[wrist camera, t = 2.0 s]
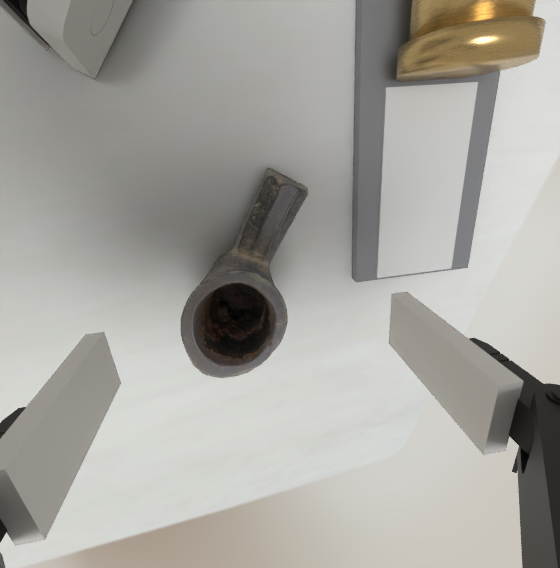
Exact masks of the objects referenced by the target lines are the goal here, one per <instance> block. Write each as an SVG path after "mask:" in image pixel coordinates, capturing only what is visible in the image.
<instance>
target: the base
mask: <svg viewBox="0 0 560 568" xmlns="http://www.w3.org/2000/svg"><path fill="white" fill-rule="evenodd" d="M411 7H412V0H356V47H355V114H354V180H353V246H352V278H353V279H354V280H355V281H356V282H361V281H369V280H377V279H384V278H392V277H400V276H407V275H415V274H423V273H430V272H438V271H446V270H454V269H461V268H468V263H469V257H470V251H471V245H472V239H473V233H474V227H475V221H476V215H477V209H478V203H479V197H480V191H481V185H482V178H483V172H484V166H485V160H486V154H487V148H488V142H489V136H490V130H491V124H492V118H493V112H494V106H495V100H496V94H497V88H498V82H499V76H500V71H497V72H492V73H487V74H482V75H477V76H471V77H465V78H457V79H440V80H423V81H407V82H403V81H399V80H397V79H396V78H397V61H398V50H399V48H400V47H401V46H402V45H404V44H405V43H407V42H409V36H410V22H411Z"/></svg>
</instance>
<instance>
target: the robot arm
mask: <svg viewBox="0 0 560 568" xmlns="http://www.w3.org/2000/svg"><path fill="white" fill-rule="evenodd" d="M389 344H390V345H391V346H392V348H393V349H394V350H395V351H396V352H397V354H398V355H399V356H400V357H401V358H402V359H403V361H404V362H405V363H406V364H407V365H408V366H409V368H410V369H411V370H412V371H413V372H414V374H415V375H416V376H417V377H418V378H419V379H420V381H421V382H422V383H423V384H424V385H425V387H426V388H427V389H428V390H429V391H430V392H431V394H432V395H433V396H434V397H435V398H436V399H437V401H438V402H439V403H440V404H441V405H442V407H443V408H444V409H445V410H446V411H447V412H448V414H449V415H450V416H451V417H452V418H453V419H454V421H455V422H456V423H457V424H458V425H459V427H460V428H461V429H462V430H463V431H464V432H465V434H466V435H467V436H468V437H469V438H470V439H471V441H472V442H473V443H474V444H475V445H476V447H477V448H478V449H479V450H480V451H481V453H482V454H483V455H485V454H491V453H496V452H501V451H505V450H506V447H507V443H508V439H509V436H510V437H511V438H512V439H513V440H514V441H515V442H516V443H517V444H518V445H519V449H518V452H517V456H516V459H515V463H514V466H513V470H512V472H515V473H517V470H518V486H519V504H520V526H521V544H522V564H523V568H560V385H556V384H543V383H541V382H540V381H539V380H537V379H536V378H535V377H533V376H532V375H530V374H529V373H528V372H526V371H525V370H523V369H522V368H521V367H519V366H518V365H516V364H515V363H514V362H513V361H509V359H508V358H507V357H505V356H504V355H503V354H500V352H499V351H497V350H496V349H494V348H493V347H492V346H490V345H489V344H487V343H485V342H482V341H480V340H478V339H476V338H470V339H468V338H467V337H465V336H464V335H463V334H462V333H460V332H459V331H458V330H456V329H455V328H454V327H452V326H451V325H450V324H448V323H447V322H446V321H445V320H443V319H442V318H441V317H439V316H438V315H437V314H435V313H434V312H433V311H431V310H430V309H429V308H428V307H426V306H425V305H424V304H422V303H421V302H420V301H418V300H417V299H416V298H414V297H413V296H412V295H411V294H409V293H408V292H402V293H394V294H392V298H391V314H390V331H389ZM120 384H121V382H120V379H119V376H118V373H117V370H116V367H115V364H114V361H113V358H112V355H111V352H110V348H109V345H108V342H107V339H106V336H105V333H104V332H101V333H93V334H86V335H85V336H84V337H83V338H82V340H81V341H80V342H79V343H78V344H77V346H76V347H75V348H74V349H73V351H72V352H71V353H70V354H69V355H68V357H67V358H66V359H65V360H64V362H63V363H62V364H61V365H60V366H59V368H58V369H57V370H56V371H55V373H54V374H53V375H52V376H51V378H50V379H49V380H48V381H47V382H46V384H45V385H44V386H43V387H42V389H41V390H40V391H39V392H38V393H37V395H36V396H35V397H34V398H33V400H32V401H31V402H30V403H29V404H28V406H27V407H23V408H18V409H17V410H16V411H14V412H13V413H12V414H10V415H9V416H8V417H7V418H5V419H4V420H3V421H2V422H1V423H0V542H1V540H2V539H3V537H4V535H5V534H6V532H7V533H8V535H9V537H10V538H11V540H12V541H13V543H14V544H15V545H20V544H25V543H31V542H36V541H41V540H45V539H46V537H47V534H48V532H49V530H50V528H51V526H52V524H53V522H54V520H55V518H56V516H57V514H58V512H59V510H60V508H61V506H62V504H63V501H64V499H65V497H66V495H67V493H68V491H69V489H70V487H71V485H72V483H73V481H74V479H75V477H76V475H77V473H78V471H79V469H80V466H81V464H82V462H83V460H84V458H85V456H86V454H87V452H88V450H89V448H90V446H91V444H92V442H93V440H94V438H95V436H96V433H97V431H98V429H99V427H100V425H101V423H102V421H103V419H104V417H105V415H106V413H107V411H108V409H109V407H110V405H111V403H112V401H113V398H114V396H115V394H116V392H117V390H118V388H119V386H120ZM0 568H5V565H4V561H3V557H2V555H1V553H0Z"/></svg>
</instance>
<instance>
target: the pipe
mask: <svg viewBox="0 0 560 568" xmlns="http://www.w3.org/2000/svg"><path fill="white" fill-rule="evenodd" d="M307 195H308V188H307V187H305V186H304V185H302V184H300V183H298V182H296V181H294V180H292V179H290V178H288V177H286V176H284V175H282V174H280V173H279V172H277V171H275V170H273V169H271V168H268V170H267V172H266V174H265V176H264V178H263V180H262V182H261V184H260V186H259V188H258V191H257V193H256V195H255V198H254V200H253V202H252V205H251V207H250V210H249V212H248V214H247V216H246V218H245V221H244V223H243V225H242V228H241V230H240V233H239V236H238V238H237V241H236V243H235V245H234V247H233V249H232V250H231V251H229V252H227V253H225V254H223V255H222V256H221V257H220V258H219V259H218V260H217V261H216V262H215V263H214V265H213V267H212V268H211V270H210V272H209V273H208V275H207V276H206V277H205V279H204V280H203V281H202V282H201V284H200V285H199V286H198V287H197V288H196V289H195V290H194V291H193V292H192V294H191V295H190V297H189V298H188V300H187V302H186V305H185V307H184V310H183V313H182V316H181V337H182V341H183V344H184V347H185V349H186V352H187V354H188V356H189V358H190V360H191V362H192V364H193V365H194V366H195V367H196V368H197V369H199V370H200V371H201V372H202V373H203V374H205V375H209V376H212V377H218V378H225V377H233V376H238V375H241V374H244V373H248V372H249V371H251V370H253V369H254V368H255V367H257V366H259V365H261V364H262V363H263V362H264V361H265V360H266V359H267V358H268V357H269V356H270V355H271V353H272V352H273V351H274V350H275V349H276V348H277V347H278V345H279V344H280V342H281V340H282V338H283V336H284V333H285V330H286V326H287V309H286V305H285V302H284V300H283V297H282V295H281V294H280V292H279V291H278V290H277V288H276V287H275V286H274V284H273V280H272V277H271V274H270V271H269V264H270V262H271V260H272V258H273V256H274V254H275V252H276V250H277V248H278V246H279V245H280V243H281V241H282V239H283V237H284V236H285V234H286V232H287V230H288V228H289V226H290V225H291V223H292V221H293V220H294V218H295V216H296V214H297V212H298V210H299V208H300V207H301V205H302V203H303V202H304V200H305V198H306V196H307Z"/></svg>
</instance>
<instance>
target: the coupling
mask: <svg viewBox="0 0 560 568" xmlns="http://www.w3.org/2000/svg"><path fill="white" fill-rule="evenodd" d="M535 1H536V0H412V7H411V22H410V36H409V42H407V43H405V44H404V45H402V46H401V47H400V48H399V50H398V61H397V78H396V79H397V80H399V81H403V82H407V81H423V80H440V79H457V78H465V77H471V76H477V75H482V74H487V73H492V72H497V71H501V70H505V69H509V68H513V67H516V66H520V65H523V64H526V63H528V62H531V61H533V60H535V59H537V58H538V57H539V53H540V48H541V43H542V38H543V33H544V28H545V23H546V22H545V20H544V19H542V18H539V17H534V16H533V12H534V6H535Z"/></svg>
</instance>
